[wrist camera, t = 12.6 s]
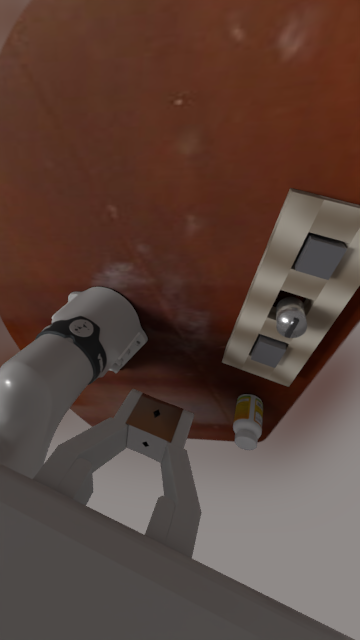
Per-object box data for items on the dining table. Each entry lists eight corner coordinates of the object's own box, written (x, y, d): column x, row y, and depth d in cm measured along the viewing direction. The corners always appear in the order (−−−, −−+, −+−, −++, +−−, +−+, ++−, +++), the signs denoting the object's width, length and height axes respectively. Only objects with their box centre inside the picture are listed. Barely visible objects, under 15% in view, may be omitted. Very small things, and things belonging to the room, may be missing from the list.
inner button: (275, 349, 44) (275, 368, 40) (253, 341, 44) (250, 359, 41) (285, 331, 42) (286, 350, 38) (261, 323, 42) (260, 341, 38)
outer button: (322, 266, 34) (328, 280, 31) (293, 257, 35) (295, 270, 31) (338, 237, 32) (347, 249, 28) (307, 229, 33) (311, 239, 29)
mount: (287, 370, 46) (288, 386, 43) (225, 348, 48) (221, 362, 45) (391, 213, 29) (405, 219, 26) (290, 187, 31) (291, 191, 28)
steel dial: (296, 321, 37) (299, 344, 32) (272, 313, 37) (271, 335, 33) (308, 301, 34) (313, 322, 30) (282, 293, 35) (283, 313, 31)
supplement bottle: (234, 405, 55) (227, 445, 48) (241, 389, 52) (234, 430, 44) (258, 413, 54) (255, 456, 47) (266, 398, 51) (265, 441, 44)
